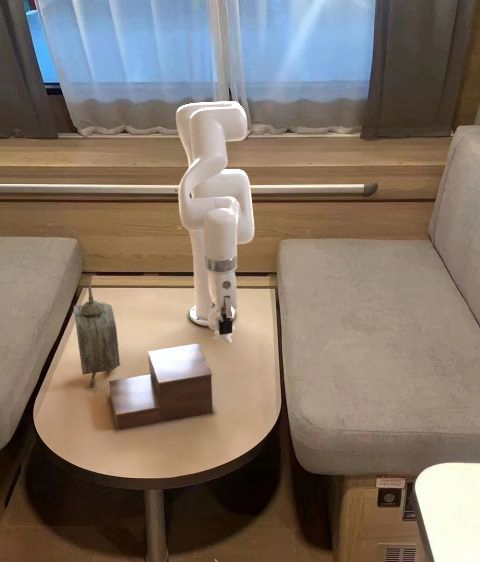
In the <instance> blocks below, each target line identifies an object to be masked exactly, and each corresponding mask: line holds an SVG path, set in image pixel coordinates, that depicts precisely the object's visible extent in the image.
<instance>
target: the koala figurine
mask: <svg viewBox="0 0 480 562" xmlns="http://www.w3.org/2000/svg"><path fill="white" fill-rule="evenodd" d="M221 308H225V305H223V307H221ZM231 308H232V305H231ZM222 312H223V315H224V314H226V311H222ZM219 320H220V313H219V310H218V309H217V308H216V306H214V307H213V308H212V309H211V311H210V313H209V315H208V326H207V327H208V328H209V329H210V330H213V331H214V334H215V336H213V337H212V339H213V340H214V341H223V342H226V343H228V344H230V343H231V344H232V343H233V340H232V338H231V336H232V335H233V332H234V331H235V330H236V327H235V326H234V325H232V333H230V334H224V335H220V334H219Z"/></svg>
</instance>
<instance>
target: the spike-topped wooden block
mask: <svg viewBox="0 0 480 562" xmlns="http://www.w3.org/2000/svg"><path fill="white" fill-rule="evenodd" d="M87 289H88V301H86V302H85V303H84V304H79V305H73V310H74V321H75V328H76V336H77V344H78V350H79V351H78V352H79V358H80V365H81V372H82V376H84V375H90V374H91V380H90V381H88V383H87V385H88V387H89V388H94V387H95V385H96V383H95V381H94V380H95V377H96V376H97V374H99V373H105V372H106V373H107V374H109V373H110V374H111V372H113V371H114V370H116V369H117V368H118V367H119V366H120V365H121V361H120V351H119V341H118V340H119V339H118V333H117V331H118V330H117V324H116V319H115V315H114V311H113V307H112V305H111V304H109V303H106V302H99V301H97V300H94V296H93V290H92V285H91V283H89V282H87Z"/></svg>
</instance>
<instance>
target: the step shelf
mask: <svg viewBox="0 0 480 562" xmlns="http://www.w3.org/2000/svg"><path fill="white" fill-rule="evenodd" d="M147 354H148V361H149V362H148V363H149V374H143V375H137V376H130V377H125V378H118V379H113V380H108V388H109V389H108V390H109V398H110V400H111V406H112V410H113V414H114V419H115V424H116V429H117V431H120V430H126V429H131V428H136V427H142V426H147V425H149V426H150V425H154V424H160V423H164V422H171V421H175V420H182V419H187V418H193V417H198V416H205V415H209V414H213V413H214V412H213V411H214V408H213V407H214V406H213V382H212V381H213V379H212V376H213V373H212V370H211V369H210V366H209V364H208V362H207V359H206V357H205V355H204V353H203V351H202V349H201V345H200V344H199V343H191V344H186V345H179V346H173V347H166V348H161V349H160V348H159V349H154V350H148V351H147Z"/></svg>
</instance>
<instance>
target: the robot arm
mask: <svg viewBox="0 0 480 562" xmlns="http://www.w3.org/2000/svg"><path fill="white" fill-rule="evenodd" d="M175 124H176V129H177V132H178V133H177V134H178V137H179V139H180V142H181V144H182V146H183V149H184V151H185V153H186V156H187V161H188V162H187V163H188V168H187V170H186V171H185V172H184V174H183V176H182V177H181V180H180V182H179V186H178V193H177V194H178V197H177V198H178V207H179V208H178V209H179V217H180V222H181V225H182V227H183V228H184V229H186V230H188V233H189V238H190V244H191V251H192V265H193V286H194V288H193V289H194V290H193V291H194V306H193V307H192V308H191V309H190V311H189V317H190V319H191V321H192V322H193V323H195V324H198V325H200V326H204V327H209V326H208V315H209V313H210V311H211V309H212V308H213V307H214V306H216V308H217V309H218V310H219V313H220V320H219V334H220V335H224V334H230V333H232V334H233V332H232V326H233V320H234V318H235V310H237V309H238V289H237V287H238V286H237V279H236V272H235V271H236V269H237V268H238V245H245V244H249V243H250V242H252V241H253V239H254V236H255V221H254V220H255V219H254V210H253V200H252V190H251V189H252V188H251V184H250V179H249V176H248V174H247V172H246V171H244V170H242V169H239V168H235V169H226V168H227V166H228V163H229V160H228V159H229V157H228V153H227V146H226V145H227V144H226V142H237V141H239V142H240V141H243V140H245V138H246V137H247V134H248V119H247V115H246V112H245V110H244V108H243V107H242V106H241V105H240V103H238V102H237V101H213V102H212V101H211V102H196V103H195V102H194V103H189V104H184V105H182V106H180V107H179V108H178V109H177V110H176V113H175ZM223 305H225V308H221V307H223ZM231 305H232V308H231ZM222 311H226V314H224V315H223V312H222Z"/></svg>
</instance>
